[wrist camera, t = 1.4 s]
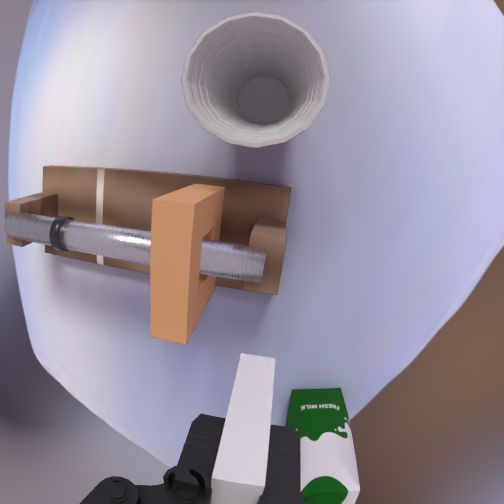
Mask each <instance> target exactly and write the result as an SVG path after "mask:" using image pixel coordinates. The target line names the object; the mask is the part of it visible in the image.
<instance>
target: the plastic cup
mask: <svg viewBox="0 0 504 504" xmlns="http://www.w3.org/2000/svg"><path fill="white" fill-rule="evenodd" d="M329 80H330V76H329V71H328V67H327V63H326V60H325V56H324V52H323V50H322V49H321V48H320V46H319V45H318V44H317V43H316V41H315V40H314V39H313V37H312V36H311V35H310V34H309V33H308V31H307V30H306V29H304V28H302V27H301V26H299V25H297V24H295V23H294V22H292V21H290V20H288V19H286V18H284V17H283V16H279V15H272V14H266V13H258V12H250V13H245V14H240V15H236V16H232V17H227V18H224V19H223V20H221V21H220V22H218V23H217V24H215V25H214V26H212V27H211V28H209V29H208V30H206V31H205V32H203V33H202V34H201V35H200V37H199V38H198V40H197V41H196V42H195V44H194V45H193V47H192V48H191V50H190V51H189V53H188V54H187V56H186V61H185V65H184V71H183V76H182V81H181V82H182V86H183V91H184V95H185V99H186V104H187V107H188V109H189V110H190V111H191V113H192V114H193V115H194V117H195V118H196V119H197V121H198V122H199V123H200V125H201V126H202V127H203V129H205V130H207V131H208V132H210V133H212V134H213V135H215V136H217V137H218V138H220V139H222V140H223V141H225V142H227V143H230V144H236V145H242V146H248V147H254V148H258V147H263V146H268V145H273V144H279V143H284V142H286V141H288V140H289V139H291V138H292V137H294V136H296V135H297V134H299V133H300V132H302V131H303V130H305V129H307V128H308V127H309V126H310V125H311V124H312V122H313V121H314V119H315V118H316V116H317V115H318V114H319V112H320V111H321V109H322V108H323V106H324V105H325V102H326V96H327V91H328V86H329Z"/></svg>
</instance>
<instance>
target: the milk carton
mask: <svg viewBox="0 0 504 504" xmlns="http://www.w3.org/2000/svg"><path fill="white" fill-rule="evenodd" d="M286 427H295V429H296V431H297V432H298V434H299V436H300V441H301V449H300V451H301V458H300V460H301V496H302V498H303V500H304V502H305V503H306V504H355V501H356V499H357V496H358V494H359V491H360V486H359V479H358V471H357V465H356V458H355V452H354V446H353V439H352V434H351V428H350V423H349V417H348V413H347V409H346V406H345V402H344V399H343V395H342V392H341V388H330V389H301V390H292V394H291V399H290V404H289V409H288V414H287V419H286Z"/></svg>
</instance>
